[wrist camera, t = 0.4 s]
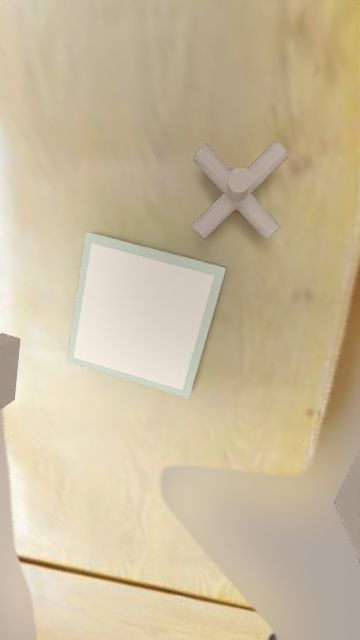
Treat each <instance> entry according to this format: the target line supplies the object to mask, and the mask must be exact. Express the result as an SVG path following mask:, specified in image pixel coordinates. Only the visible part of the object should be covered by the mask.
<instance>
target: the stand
mask: <svg viewBox="0 0 360 640" xmlns="http://www.w3.org/2000/svg"><path fill="white" fill-rule="evenodd" d="M225 271H226V267H224V266H220V265H216V264H212V263H208V262H204V261H201V260H197V259H193V258H189V257H185V256H181V255H177V254H174V253H170V252H166V251H162V250H158V249H154V248H150V247H147V246H143V245H139V244H135V243H131V242H127V241H123V240H119V239H116V238H112V237H108V236H104V235H100V234H96V233H89V232H86V234H85V240H84V247H83V254H82V260H81V267H80V274H79V280H78V287H77V294H76V300H75V307H74V314H73V320H72V327H71V333H70V340H69V347H68V353H67V360H66V362H69V363H73V364H76V365H79V366H82V367H86V368H89V369H92V370H96V371H99V372H102V373H106V374H109V375H112V376H115V377H119V378H122V379H125V380H129V381H132V382H135V383H138V384H142V385H145V386H148V387H152V388H155V389H158V390H162V391H165V392H168V393H171V394H175V395H178V396H181V397H185V398H188V399H189V397H190V393H191V390H192V386H193V383H194V379H195V376H196V372H197V369H198V365H199V362H200V358H201V355H202V351H203V348H204V344H205V341H206V337H207V334H208V330H209V327H210V323H211V320H212V316H213V313H214V309H215V306H216V302H217V299H218V295H219V292H220V288H221V285H222V281H223V278H224V274H225Z"/></svg>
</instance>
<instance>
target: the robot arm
mask: <svg viewBox="0 0 360 640" xmlns="http://www.w3.org/2000/svg"><path fill="white" fill-rule="evenodd" d="M19 348H20V338H17V337H13V336H10V335H7V334H3V333H2V334H0V410H1V409H2V408H4V407H5V406H6V405H8V404H9V403H11V402H12V401H13V400H15V390H16V380H17V369H18V359H19ZM334 504H335V506H336V509H337V511H338V513H339V516H340V518H341V520H342V523H343V525H344V527H345V529H346V532H347V534H348V537H349V539H350V541H351V544H352V546H353V548H354V550H355V553H356V555H357V557H358V560H359V562H360V450H359V452H358V454H357V456H356V458H355V460H354V462H353V464H352V466H351V468H350V471H349V472H348V475H347V476H346V479H345V480H344V482H343V485H342V486H341V489H340V490H339V493H338V495H337V497H336V499H335V501H334Z"/></svg>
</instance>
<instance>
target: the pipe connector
mask: <svg viewBox="0 0 360 640" xmlns="http://www.w3.org/2000/svg"><path fill="white" fill-rule="evenodd" d="M287 156H288V155H287V152H286V150H285V149H284V148H283V146H282V145H281V144H280V143H278V142H276V141H275V142H273V143H272V144H271V145H270V146H269V147H268V148H267V149H266V150H265V151H264V152H263V153H262V155H261V156H260V157H259V158H258V159H257V160H256V161H255V162H254V163H253V164H252V165H251V166H250V167H249V168H248V169H247V168H244V167H237V168H235V169H233V170H232V171H231V170H230V169H229V168H228V167H227V165H226V164H225V163H224V162H223V161H222V160H221V159H220V158H219V156H218V155H217V154H216V153H215V152H214V151H213V150H212V149H211V147H210V146H209V145H208V144H205V145H203V146H202V147H201V148H200V149H199V150H198V151H197V153H196V154H195V156H194V159H193V160H194V162H195V163H196V164H197V165H198V166H199V167H200V168H201V169H202V170H203V172H204V173H205V174H206V175H207V176H208V177H209V178H210V179H211V181H212V182H213V183H214V184H215V185H216V186H217V187H218V188H219V189H220V191H221V192H222V193H223V194H222V195H221V196H220V197H219V198H218V199H217V200H216V201H215V202H214V203H213V204H212V205H211V207H210V208H209V209H208V210H207V211H206V212H205V213H204V214H203V215H202V216H201V217H200V218H199V219H198V220H197V221H196V222H195V223H194V224H193V225H192V226H193V228H194V229H195V230H196V231H197V232H198V233H199V234H200V235H201V236H202V237H203V238H204V239H205V238H206V237H207V236H208V235H210V234H211V233H212V232H213V231H214V230H215V229H216V228H217V227H218V226H219V225H220V224H221V223H222V222H223V221H224V220H225V219H226V218H227V217H228V216H229V215H230V214H231V213H232V212H233V211H237V210H238V211H239V212H240V213H241V214H242V215H243V216H244V217H245V218H246V220H247V221H248V222H249V223H250V224H251V225H252V226H253V227H254V229H255V230H256V231H257V232H258V233H259V234H260V235H261V236H262V237H263V239H264V240H266V239H267V238H268V237H269V236H271V235H272V234H273V233H274V232H275V231H276V230H277V229H278V228H279V227H280V225H279V224H278V223H277V222H276V221H275V220H274V218H273V217H272V216H271V215H270V214H269V213H268V212H267V211H266V209H265V208H264V207H263V206H262V205H261V204H260V203H259V202H258V200H257V199H256V198H255V197H254V196H253V195H252V194H251V193H252V192H253V191H254V190H255V189H256V188H257V187H258V186H259V185H260V184H261V183H262V182H263V181H264V180H265V179H266V178H267V177H268V176H269V175H270V174H271V173H272V172H273V171H274V170H275V169H276V168H277V167H279V166H280V165H281V164H282V163H283V162H284V161H285V160H286V159H287Z"/></svg>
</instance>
